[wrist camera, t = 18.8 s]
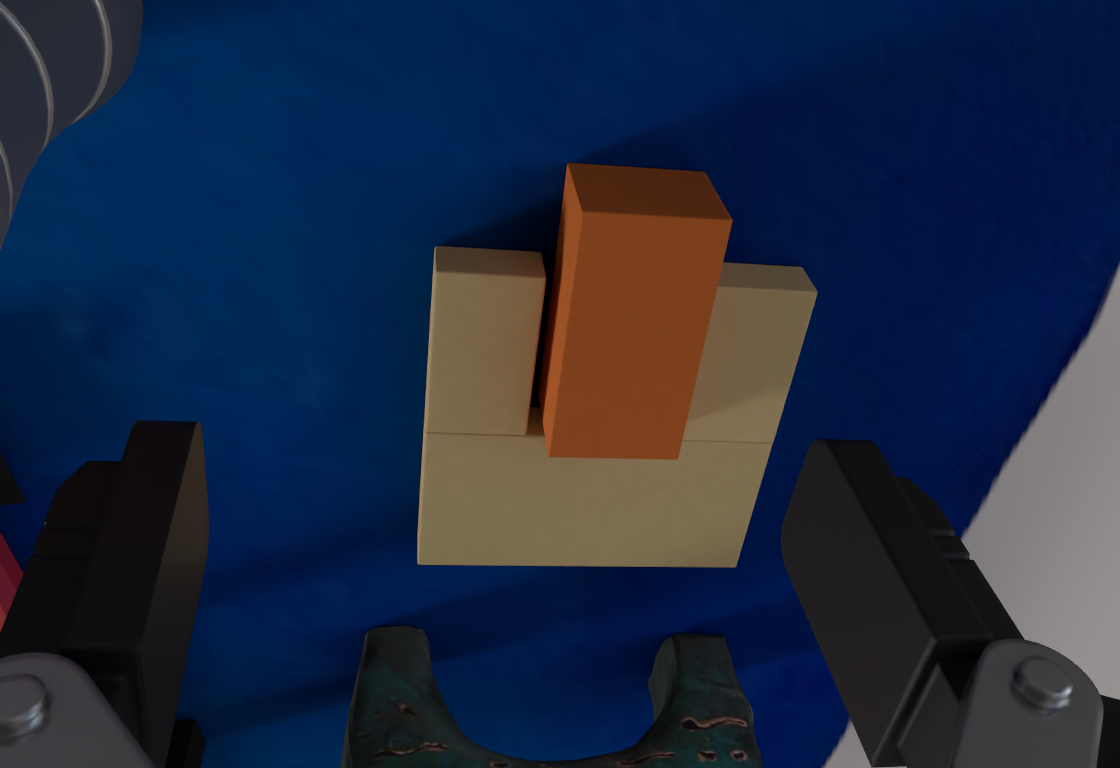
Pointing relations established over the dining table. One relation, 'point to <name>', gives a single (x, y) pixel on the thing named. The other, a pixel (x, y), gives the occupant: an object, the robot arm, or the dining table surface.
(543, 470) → the notch pad
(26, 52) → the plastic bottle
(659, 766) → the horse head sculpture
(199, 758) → the red board with handle
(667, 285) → the pad
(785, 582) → the dining table surface
